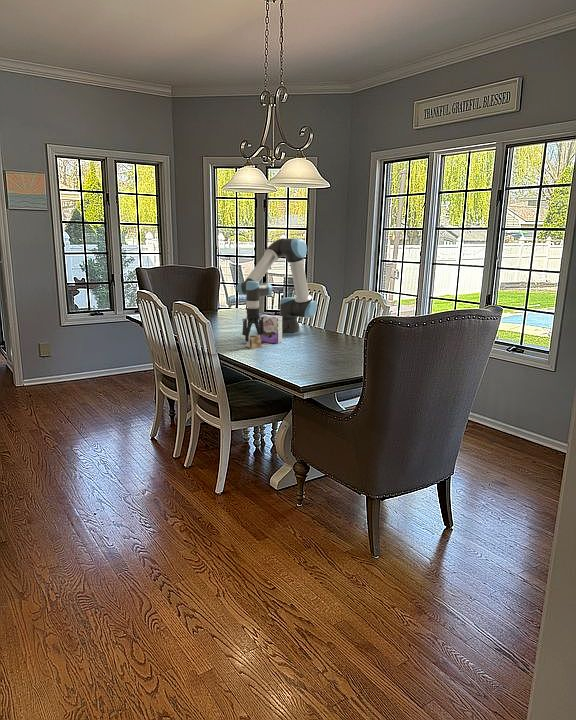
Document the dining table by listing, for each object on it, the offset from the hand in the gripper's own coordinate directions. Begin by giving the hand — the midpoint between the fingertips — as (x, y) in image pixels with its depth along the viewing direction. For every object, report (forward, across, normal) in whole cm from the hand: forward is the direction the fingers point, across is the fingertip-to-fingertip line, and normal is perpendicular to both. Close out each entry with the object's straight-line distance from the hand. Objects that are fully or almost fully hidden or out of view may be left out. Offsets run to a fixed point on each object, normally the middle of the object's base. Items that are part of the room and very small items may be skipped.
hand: (253, 346), depth 316 cm
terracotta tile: (+1, 0, 0) cm, 1 cm away
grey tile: (+1, -8, 0) cm, 8 cm away
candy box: (+1, -17, -6) cm, 18 cm away
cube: (0, 0, 0) cm, 0 cm away
